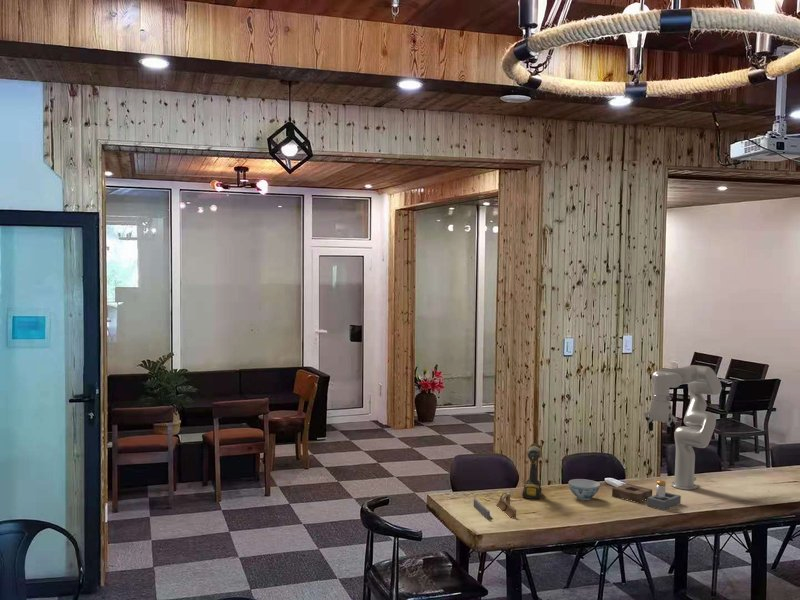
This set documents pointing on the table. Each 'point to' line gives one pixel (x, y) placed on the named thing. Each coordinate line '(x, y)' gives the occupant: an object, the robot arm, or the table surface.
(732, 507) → the table surface
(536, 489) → the power drill
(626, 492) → the socket block
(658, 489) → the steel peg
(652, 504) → the gray cinder block
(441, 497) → the table surface
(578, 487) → the chinaware
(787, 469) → the table surface
